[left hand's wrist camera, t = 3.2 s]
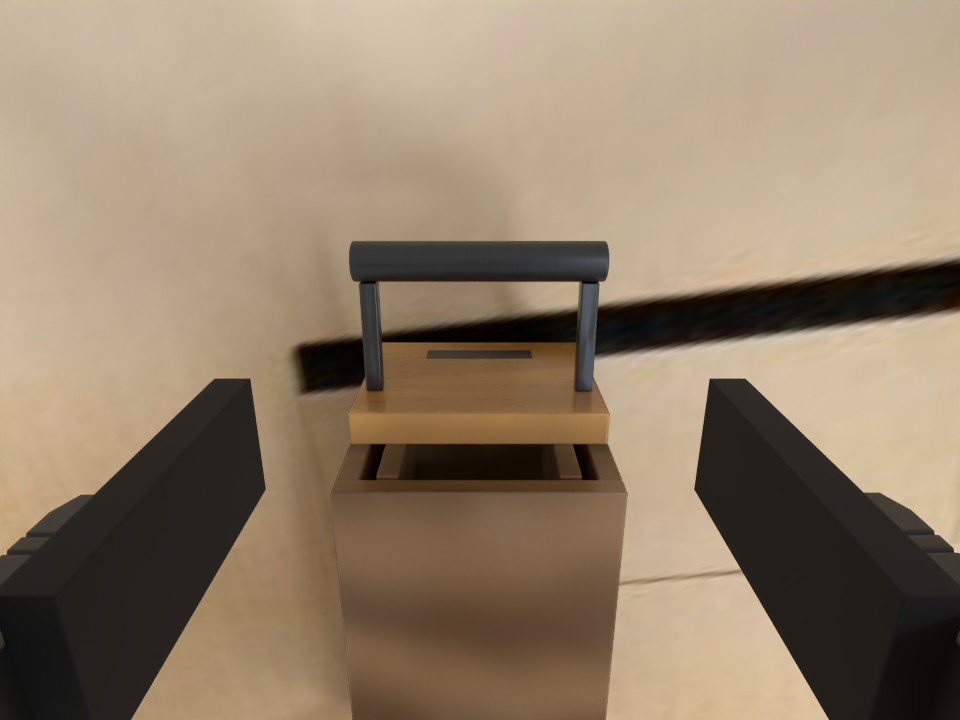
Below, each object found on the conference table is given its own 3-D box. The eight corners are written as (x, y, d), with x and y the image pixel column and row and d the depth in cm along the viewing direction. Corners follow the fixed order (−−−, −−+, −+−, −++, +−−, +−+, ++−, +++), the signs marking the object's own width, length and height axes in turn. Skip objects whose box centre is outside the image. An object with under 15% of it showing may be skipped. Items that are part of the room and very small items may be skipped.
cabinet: (373, 385, 30) (329, 492, 21) (585, 385, 30) (628, 492, 21) (394, 722, 37) (369, 902, 29) (563, 722, 37) (588, 902, 29)
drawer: (372, 219, 26) (334, 253, 19) (585, 219, 26) (623, 253, 19) (400, 689, 35) (381, 826, 28) (558, 689, 35) (577, 827, 28)
